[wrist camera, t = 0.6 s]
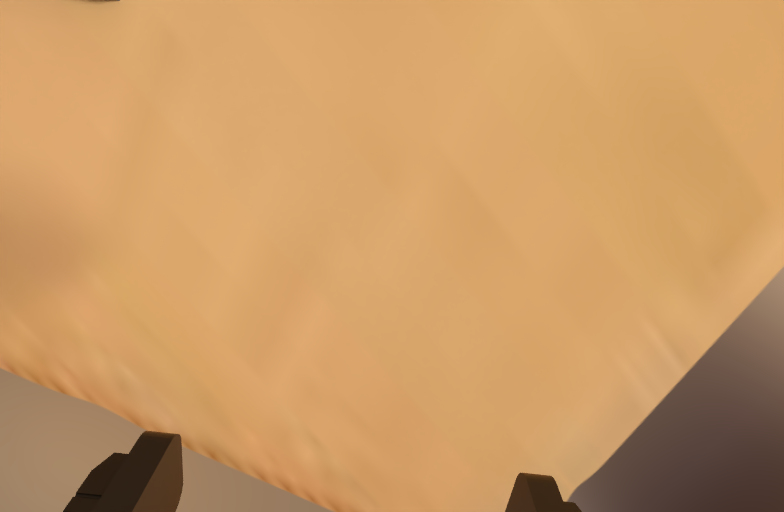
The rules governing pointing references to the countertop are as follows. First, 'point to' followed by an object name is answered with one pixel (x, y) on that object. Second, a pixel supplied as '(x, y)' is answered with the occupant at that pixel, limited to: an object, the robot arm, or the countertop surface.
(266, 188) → the countertop surface
